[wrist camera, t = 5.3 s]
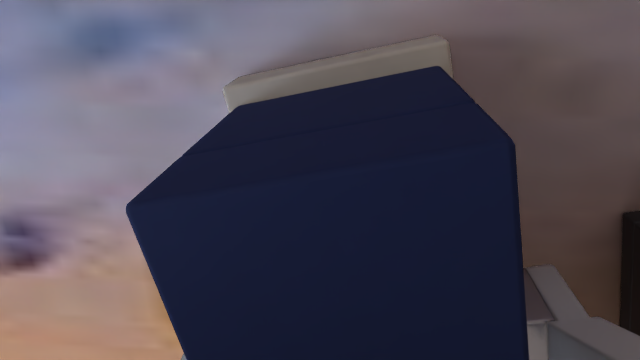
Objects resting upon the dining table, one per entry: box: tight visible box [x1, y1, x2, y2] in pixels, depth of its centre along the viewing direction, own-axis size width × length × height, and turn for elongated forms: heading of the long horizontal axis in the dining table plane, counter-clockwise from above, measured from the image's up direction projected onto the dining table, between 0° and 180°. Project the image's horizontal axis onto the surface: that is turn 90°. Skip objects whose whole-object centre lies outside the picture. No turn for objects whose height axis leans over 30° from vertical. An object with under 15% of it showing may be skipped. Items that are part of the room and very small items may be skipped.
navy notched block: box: [126, 35, 529, 360], centre depth 9 cm, size 10×4×6 cm, turn 12°
